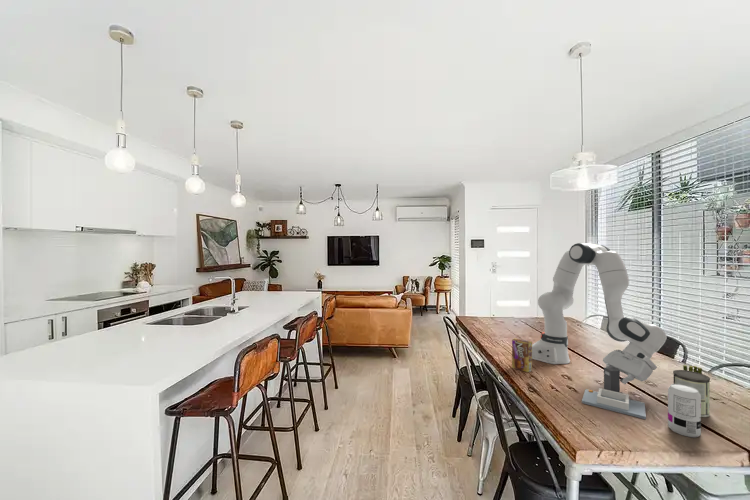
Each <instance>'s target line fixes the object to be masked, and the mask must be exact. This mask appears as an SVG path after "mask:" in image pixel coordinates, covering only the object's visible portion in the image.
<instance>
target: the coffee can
mask: <svg viewBox="0 0 750 500" xmlns="http://www.w3.org/2000/svg"><path fill="white" fill-rule="evenodd" d="M672 372H673V373H672V374H673V384H681V385H686V386H690V387H693V388H695V389H697V390H698V392H699V393H700V395H701V418H709V417H710V415H711V414H710V413H711V412H710V403H711V402H710V392H711V391H710V386H711V384H710V381H711V378H710V377H709V376H708V375H706V374H700V373H697V372H694V371H693V372H692V371H689V370H688V369H687V370H684V369H675V370H673V371H672Z"/></svg>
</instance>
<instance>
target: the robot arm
mask: <svg viewBox="0 0 750 500" xmlns="http://www.w3.org/2000/svg"><path fill="white" fill-rule="evenodd" d="M585 265H587V266H595V267H596V269H597V273H598V276H599V280H600V284H601V288H602V292H603V296H604V297H603V298H604V303H605V308H606V314H607V324H606V333H607V335H608V336H609V337H610V338H611V339H612V340H613V341H616V342H619V343H620V342H622V343H623V342H626V341H628V342H629V343H628V344H627V345H626V347H624V348H623V349H622V350H621V349H613V350H611V352H609V353H607V355H605V356H603V359H602V362H603V363H604V365H605V368H606V367H613V368H615V369H617V370H619V371H620V373H623V374H624V375H627V376H626V377H620V383H621V384H623V385H626V384H627V383H629V382H632V381H634V380H637V381H640V382H645V381H647V380H648V379H649V377H651V376H652V374H653V372H654V371H655V370H656V369H657V368H658V366H657V365H656V363H654V362H653V361H652V360H651V359H652V357H653V355H654V354H655V353H657V352H658V351H659V350H660V349H661V348H662V347H663V346H664V344H665V343H666V341H667V334H666V332H665V331H664V330H663V329H662V328H661V327H660V326H658V325H657V324H652V323H647V322H643V321H641V320H639V319H637V318H635V317H633V316H624V311H623V305H622V297H623V295H624V293H625V292H626V290H627V289H628V287H629V286H630V283H629V281H630V280H629V275H628V271H627V267H626V265H625V263H624V260H623V258H622V256H621V255H620V253H618V252H617V251H614V250H611V249H610V248H608V247H607V246H605V245H602V244H601V245H600V244H596V243H591V242H590V243H588V242H587V243H585V242H577V243H575V244H573V245H571V247H570V248H569V250H566V252H564V254H563V255H562V256H561V259H560V260H559V262H558V265H557V267H556V270H555V272H554V274H553V277H552V282H553V288H552V291H547V292H544V293H543V294H541V295H540V296H539V297H538V299H537V305H538V307H539V308H540V309H541V311H542V315H543V320H544V331H542V333H541V334H540V339H539V340H537V341H535V342H534V343H532V360H535V361H539V362H543V363H547V364H550V365H565V364H570V363H571V360H570V357H569V349H568V346H569V338H568V337H569V336H568V322H567V320H566V319H565V316H564V311H563V310H567V309H569V308H570V307H571V306H573V304H574V297H573V296H574V291H575V286H576V284H577V280H578V278H579V276H580V274H581V271H582V269H583V267H584V266H585Z"/></svg>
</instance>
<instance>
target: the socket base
mask: <svg viewBox="0 0 750 500" xmlns="http://www.w3.org/2000/svg"><path fill="white" fill-rule="evenodd" d="M581 404H585V405H589V406H591V407H595V408H601V409H604V410H608V411H611V412H616V413H620V414H624V415H628V416H630V417H635V418H639V419H642V420H646V419H647V415H646V403H645V402H643V401H639V400H634V399H630V395H629V393H622V392H620V393H619V392H614V391H610V390H606V389H604V388H600V387H598V391H596V390H593V389H587V388H586V389H585V390H584V393H583V396H582V399H581Z"/></svg>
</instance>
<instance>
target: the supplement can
mask: <svg viewBox="0 0 750 500" xmlns="http://www.w3.org/2000/svg"><path fill="white" fill-rule="evenodd" d="M667 427H668V428H669V429H670V430H671V431H672V432H673V433H677V434H678V435H680V436H681V435H682V436H684V437H688V438H698V437H700V436H701V434H702V431H701V430H702V417H701V395H700V393H699V392H698V390H697V389H695V388H693V387H690V386H686V385H681V384H674V383H671V384H670V385H669V386H668V388H667Z"/></svg>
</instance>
